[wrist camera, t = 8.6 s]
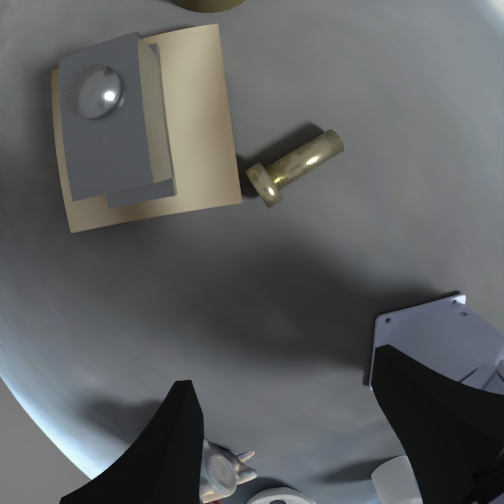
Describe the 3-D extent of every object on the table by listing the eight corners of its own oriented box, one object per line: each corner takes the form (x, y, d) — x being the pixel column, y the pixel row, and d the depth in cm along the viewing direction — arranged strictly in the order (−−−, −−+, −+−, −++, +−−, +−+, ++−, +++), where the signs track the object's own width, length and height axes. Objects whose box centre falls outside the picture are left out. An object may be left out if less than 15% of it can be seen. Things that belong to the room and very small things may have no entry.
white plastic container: (436, 518, 18) (444, 519, 19) (402, 450, 29) (414, 460, 31) (389, 542, 19) (403, 542, 20) (363, 474, 30) (379, 481, 32)
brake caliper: (100, 448, 23) (130, 524, 13) (171, 381, 28) (232, 429, 18) (174, 497, 26) (226, 559, 16) (234, 438, 31) (303, 483, 21)
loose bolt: (322, 123, 18) (335, 119, 15) (342, 158, 19) (357, 158, 16) (243, 170, 18) (245, 172, 16) (265, 204, 19) (271, 212, 17)
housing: (177, 194, 17) (154, 209, 12) (113, 206, 17) (71, 226, 11) (159, 47, 14) (132, 8, 9) (97, 65, 14) (53, 38, 9)
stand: (219, 35, 16) (217, 23, 14) (241, 198, 19) (242, 203, 17) (65, 76, 15) (51, 71, 14) (84, 226, 19) (70, 233, 17)
